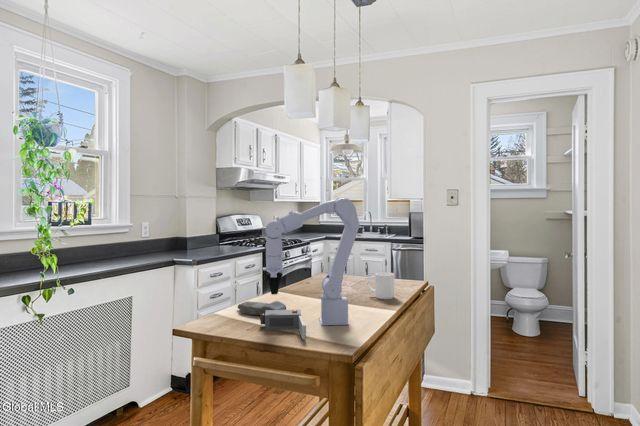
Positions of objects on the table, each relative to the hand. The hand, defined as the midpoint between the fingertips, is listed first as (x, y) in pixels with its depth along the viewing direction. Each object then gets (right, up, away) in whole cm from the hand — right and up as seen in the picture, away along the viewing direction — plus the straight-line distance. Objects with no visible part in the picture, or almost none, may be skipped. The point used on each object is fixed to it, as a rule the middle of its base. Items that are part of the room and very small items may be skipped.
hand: (274, 294), depth 151 cm
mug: (+42, -9, +39) cm, 58 cm away
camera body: (+3, -11, -3) cm, 12 cm away
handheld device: (-7, -10, +13) cm, 18 cm away
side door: (+10, -11, -11) cm, 19 cm away
